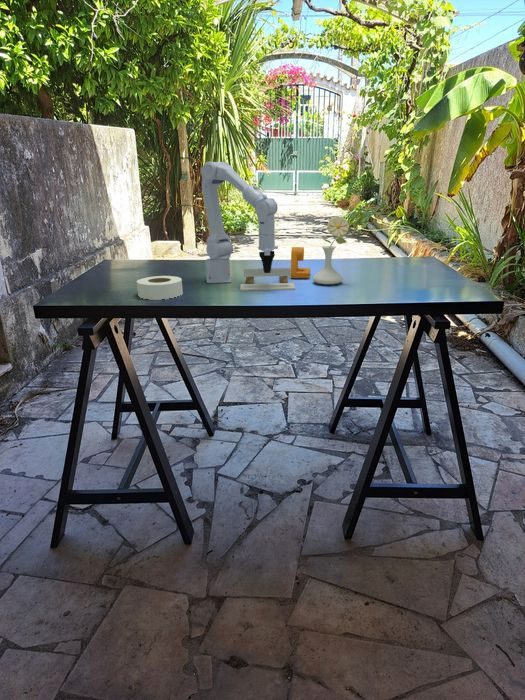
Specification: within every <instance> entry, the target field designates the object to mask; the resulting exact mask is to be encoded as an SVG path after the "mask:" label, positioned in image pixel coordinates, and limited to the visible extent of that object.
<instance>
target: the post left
mask: <svg viewBox="0 0 525 700" xmlns="http://www.w3.org/2000/svg"><path fill="white" fill-rule="evenodd" d="M245 284H255V277H245Z"/></svg>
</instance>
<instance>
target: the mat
mask: <svg viewBox="0 0 525 700" xmlns="http://www.w3.org/2000/svg"><path fill="white" fill-rule="evenodd" d="M239 287H240V289H239V291H241V292H244V291H246V292H248V291H249V290H253V291H292V290H293V291H295V290H296V286H295V284H294V283H293V282H290V283H289V282H288V283H280V282H278V283H254V284H246V283H240V286H239Z"/></svg>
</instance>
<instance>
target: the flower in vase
mask: <svg viewBox="0 0 525 700" xmlns="http://www.w3.org/2000/svg"><path fill="white" fill-rule="evenodd" d="M349 228H350V224H349V222H348V220H347V219H346V218H345V217H343V216H339V215H336V216H334V217H332V218H330V219H329V220H328V223H327V225H326V229H327V232H329V235H331V236H333V237H334V239H333V241H332V242H331V241H330V240H328V239H325V238H324V237H322V239H323V241H325V242H327V243H329V244H330V245H324V246H321V248H322V249H323V251H324V255H325V256H324V257H325V262H324V263H325V264H324V266H323V267H322V268H321V270H319V271H318V272H317V273H315V275H314V276H313V277H312V280H313V282H314V283H316V284H320V285H335V284H339V283H342V281H343V280H344V278H343V276H342V275H341V274H340V272H338V271H337V270H336V269H335V268H334V267H333V266H332V256H333V253H334V250H335V249H336V246H333V244H334V242H336V243H337V244H338V245H342V244H345V243H347V240H346V239H345V238H344V237H342V236H345V235H346V234H348V231H349Z"/></svg>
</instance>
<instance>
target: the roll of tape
mask: <svg viewBox="0 0 525 700" xmlns="http://www.w3.org/2000/svg"><path fill="white" fill-rule="evenodd" d="M136 288H137V295H138V296H139V297H140V299H141V298H143V299H142V300H145V299H149V300H148V301H162V299H165V300H170V299H169V298H172V299H175V298H174V297H176V298H178V297H177V296H179V297H181V296H183V295H184V294H183V293H184V292H183V279H182V278H181V277H180V276H173V275H159V276H158V275H156V276H148V277H144V278H140V279H137V280H136ZM180 295H181V296H180ZM138 296H137V297H138ZM139 297H138V298H139Z"/></svg>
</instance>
